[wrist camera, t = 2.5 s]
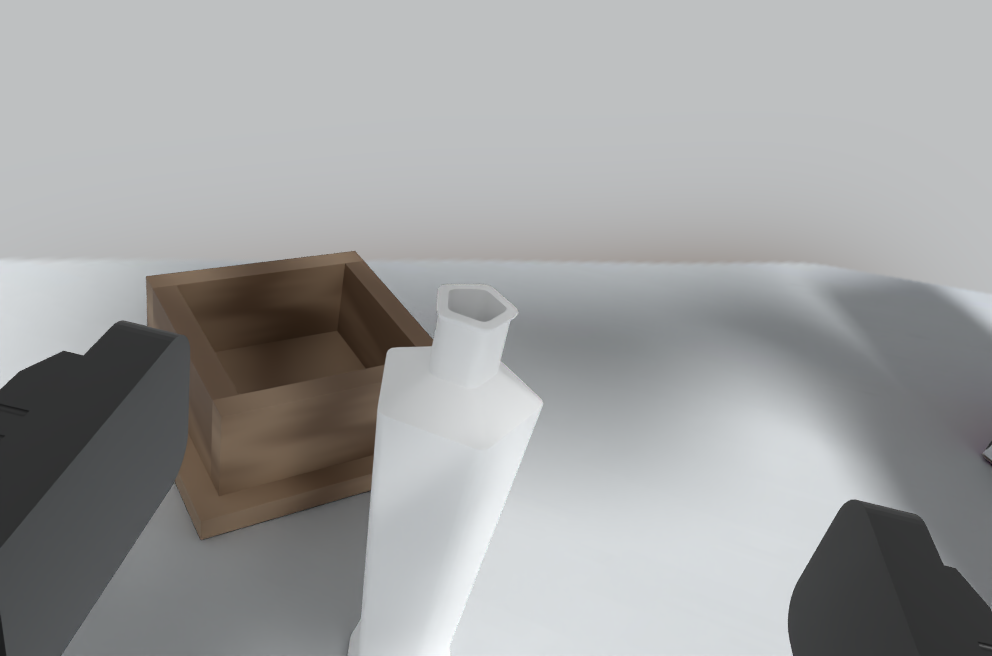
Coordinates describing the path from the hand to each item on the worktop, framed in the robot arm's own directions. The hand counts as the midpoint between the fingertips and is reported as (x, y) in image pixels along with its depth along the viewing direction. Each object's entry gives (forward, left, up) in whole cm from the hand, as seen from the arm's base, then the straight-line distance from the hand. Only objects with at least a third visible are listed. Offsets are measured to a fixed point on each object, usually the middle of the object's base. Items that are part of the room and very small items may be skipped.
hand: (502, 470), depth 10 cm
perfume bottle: (-6, -9, -19) cm, 22 cm away
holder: (-8, -23, -19) cm, 31 cm away
